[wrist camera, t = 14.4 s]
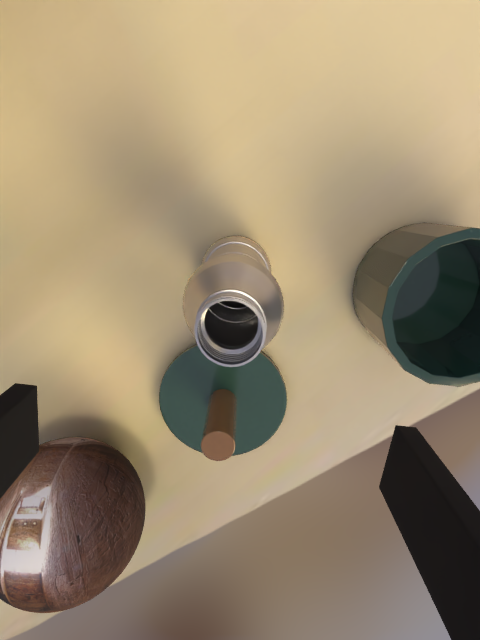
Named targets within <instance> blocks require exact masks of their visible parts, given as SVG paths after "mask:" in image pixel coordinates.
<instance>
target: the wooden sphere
mask: <svg viewBox="0 0 480 640" xmlns="http://www.w3.org/2000/svg"><path fill="white" fill-rule="evenodd" d="M144 520H145V497H144V491H143V487H142V484H141V481H140V478H139V476H138V474H137V472H136V470H135V469H134V467H133V466H132V464H131V463H130V462H129V460H128V459H127V458H126V457H125V456H124V455H123V454H121V453H120V452H119V451H118V450H116V449H115V448H113V447H112V446H110V445H108V444H106V443H103V442H101V441H98V440H94V439H89V438H81V437H71V438H62V439H57V440H53V441H50V442H47V443H44V444H41V445H39V452H38V453H37V454H36V456H35V457H34V458H33V459H32V461H31V462H30V463H29V464H28V465H27V467H26V468H25V469H24V470H23V472H22V473H21V474H20V475H19V477H18V478H17V479H16V480H15V481H14V483H13V484H12V485H11V486H10V488H9V489H8V490H7V491H6V492H5V494H4V495H3V496H2V497H1V499H0V599H1V600H3V601H4V602H6V603H7V604H9V605H11V606H13V607H15V608H18V609H21V610H24V611H29V612H36V613H51V612H58V611H63V610H67V609H70V608H73V607H76V606H78V605H80V604H83V603H85V602H87V601H89V600H90V599H92V598H94V597H95V596H97V595H98V594H99V593H101V592H102V591H104V590H105V589H106V588H107V587H108V586H109V585H111V584H112V583H113V582H114V581H115V580H116V578H117V577H118V576H119V575H120V574H121V573H122V571H123V570H124V569H125V567H126V566H127V564H128V563H129V561H130V560H131V558H132V556H133V554H134V552H135V550H136V548H137V546H138V543H139V541H140V538H141V534H142V531H143V526H144Z"/></svg>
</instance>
